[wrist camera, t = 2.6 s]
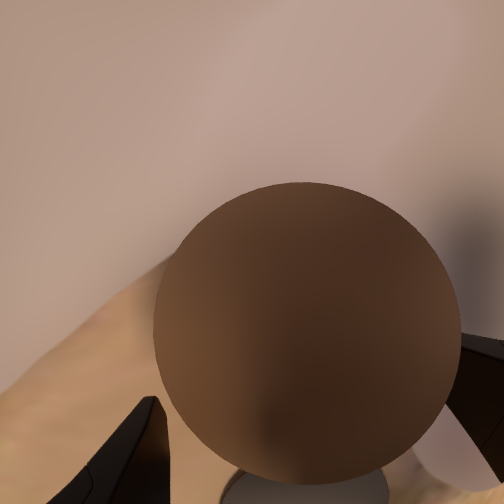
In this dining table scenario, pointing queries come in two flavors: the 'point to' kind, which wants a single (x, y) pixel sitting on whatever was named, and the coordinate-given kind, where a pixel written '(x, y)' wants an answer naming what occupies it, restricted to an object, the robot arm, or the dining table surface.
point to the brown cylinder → (307, 333)
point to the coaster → (309, 491)
